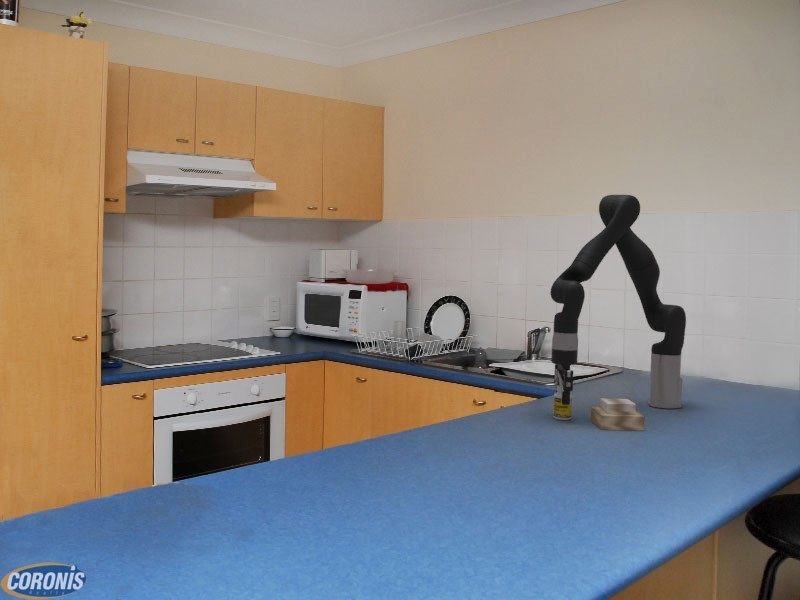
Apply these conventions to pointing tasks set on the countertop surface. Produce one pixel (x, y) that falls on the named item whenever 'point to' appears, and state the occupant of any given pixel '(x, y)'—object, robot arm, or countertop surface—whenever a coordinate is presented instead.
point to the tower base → (617, 415)
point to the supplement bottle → (561, 406)
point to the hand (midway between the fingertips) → (562, 401)
